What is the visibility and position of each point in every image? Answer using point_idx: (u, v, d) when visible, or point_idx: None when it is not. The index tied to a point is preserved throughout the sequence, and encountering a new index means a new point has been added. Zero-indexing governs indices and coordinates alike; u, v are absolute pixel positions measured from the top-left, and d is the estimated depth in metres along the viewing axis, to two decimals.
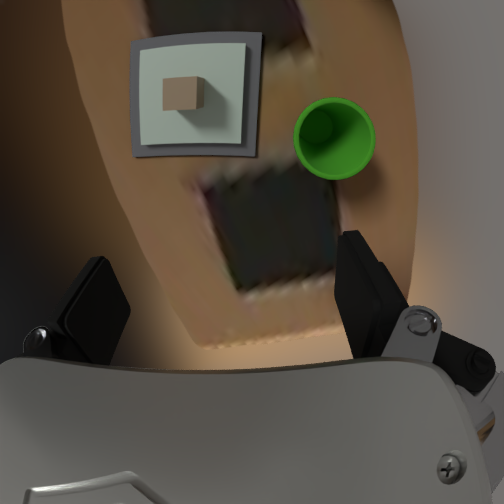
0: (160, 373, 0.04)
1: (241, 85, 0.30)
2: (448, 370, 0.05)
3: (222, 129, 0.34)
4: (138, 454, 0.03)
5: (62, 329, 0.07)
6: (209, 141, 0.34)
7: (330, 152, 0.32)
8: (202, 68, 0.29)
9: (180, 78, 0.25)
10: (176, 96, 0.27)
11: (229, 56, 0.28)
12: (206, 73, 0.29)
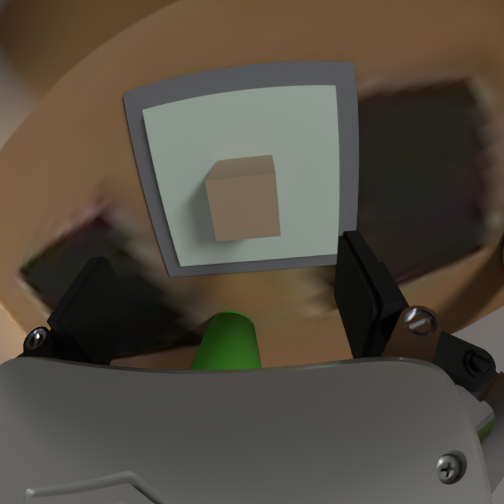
0: (160, 373, 0.04)
1: (268, 257, 0.24)
2: (448, 370, 0.05)
3: (194, 241, 0.23)
4: (138, 454, 0.03)
5: (62, 329, 0.07)
6: (170, 225, 0.22)
7: None
8: (294, 199, 0.21)
9: (275, 208, 0.16)
10: (237, 205, 0.16)
11: (316, 235, 0.23)
12: (285, 206, 0.21)
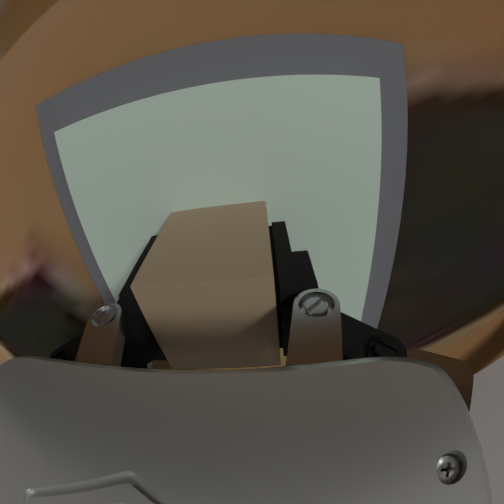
0: (160, 373, 0.04)
1: None
2: (344, 354, 0.06)
3: None
4: (138, 454, 0.03)
5: (136, 303, 0.08)
6: None
7: None
8: None
9: (272, 331, 0.08)
10: (199, 327, 0.08)
11: None
12: None
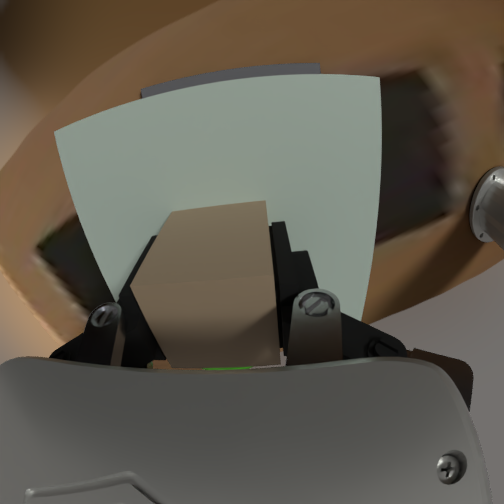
0: (160, 373, 0.04)
1: None
2: (344, 354, 0.06)
3: None
4: (138, 454, 0.03)
5: (136, 303, 0.08)
6: None
7: None
8: None
9: (272, 330, 0.08)
10: (199, 326, 0.08)
11: None
12: None
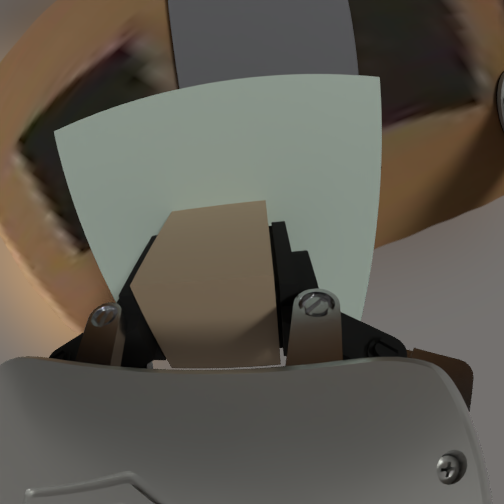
0: (160, 373, 0.04)
1: None
2: (343, 354, 0.06)
3: None
4: (138, 454, 0.03)
5: (136, 303, 0.08)
6: None
7: None
8: None
9: (272, 330, 0.08)
10: (199, 326, 0.08)
11: None
12: None
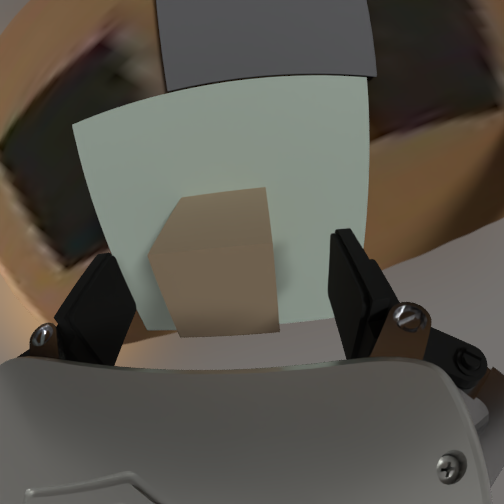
0: (160, 373, 0.04)
1: None
2: None
3: (160, 303, 0.16)
4: (138, 454, 0.03)
5: (69, 325, 0.07)
6: (127, 283, 0.16)
7: None
8: (298, 252, 0.14)
9: (272, 296, 0.09)
10: (207, 293, 0.09)
11: (327, 296, 0.16)
12: (285, 262, 0.15)
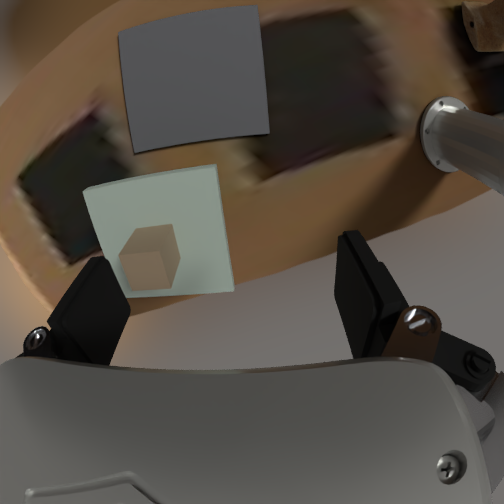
0: (160, 373, 0.04)
1: (182, 293, 0.31)
2: (448, 370, 0.05)
3: (128, 281, 0.30)
4: (138, 454, 0.03)
5: (62, 329, 0.07)
6: None
7: None
8: (192, 254, 0.28)
9: (163, 271, 0.23)
10: (140, 270, 0.23)
11: (214, 278, 0.30)
12: (187, 259, 0.28)
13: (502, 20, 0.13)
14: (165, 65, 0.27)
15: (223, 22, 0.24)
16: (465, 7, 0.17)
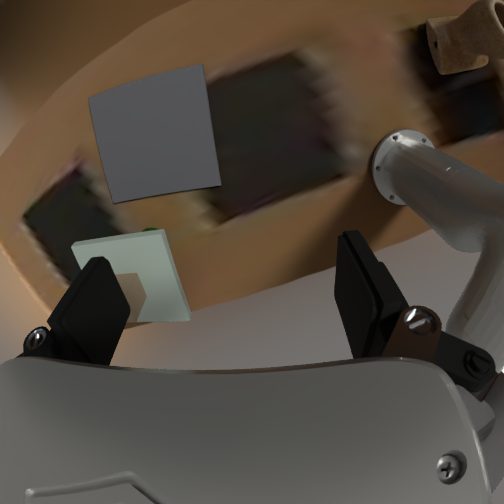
0: (160, 373, 0.04)
1: (152, 320, 0.38)
2: (448, 370, 0.05)
3: None
4: (138, 454, 0.03)
5: (62, 329, 0.07)
6: None
7: None
8: (155, 294, 0.35)
9: None
10: None
11: (174, 311, 0.37)
12: (151, 297, 0.35)
13: (469, 37, 0.18)
14: (129, 129, 0.34)
15: (173, 85, 0.31)
16: (429, 26, 0.22)
